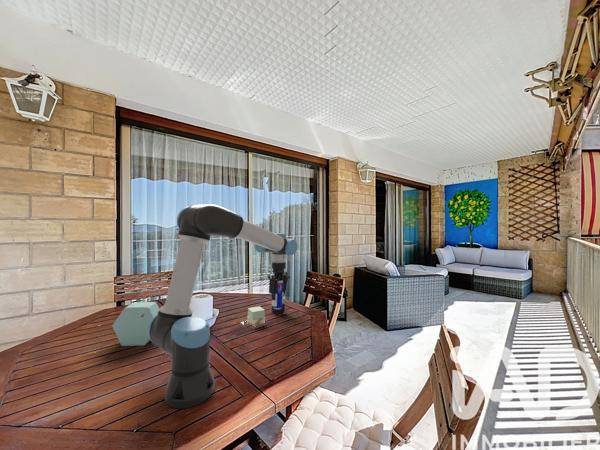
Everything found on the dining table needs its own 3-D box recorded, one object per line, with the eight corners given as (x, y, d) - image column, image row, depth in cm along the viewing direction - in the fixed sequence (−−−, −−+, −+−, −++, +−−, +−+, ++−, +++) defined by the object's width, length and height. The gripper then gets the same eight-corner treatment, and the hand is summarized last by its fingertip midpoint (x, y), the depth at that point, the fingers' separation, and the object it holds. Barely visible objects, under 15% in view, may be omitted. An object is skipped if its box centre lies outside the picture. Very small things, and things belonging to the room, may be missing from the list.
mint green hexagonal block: (146, 347, 124) (171, 311, 125) (137, 355, 116) (164, 317, 117) (115, 328, 122) (140, 292, 123) (104, 336, 114) (132, 297, 115)
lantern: (289, 318, 152) (290, 267, 151) (264, 317, 152) (265, 267, 151) (290, 309, 166) (291, 263, 166) (267, 309, 167) (268, 263, 166)
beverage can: (278, 310, 135) (279, 281, 135) (270, 308, 138) (271, 280, 138) (284, 307, 139) (284, 280, 139) (276, 305, 142) (277, 278, 142)
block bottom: (254, 327, 137) (254, 319, 137) (247, 323, 142) (247, 316, 142) (264, 323, 142) (265, 316, 142) (257, 319, 147) (257, 313, 147)
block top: (252, 319, 137) (252, 312, 137) (247, 315, 143) (247, 308, 143) (264, 317, 141) (264, 309, 141) (259, 313, 147) (259, 306, 147)
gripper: (273, 264, 129) (272, 310, 129) (293, 260, 144) (292, 301, 144) (262, 262, 133) (261, 307, 133) (283, 259, 148) (282, 299, 148)
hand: (277, 304), depth 138 cm, fingers closed on beverage can, 5 cm apart
